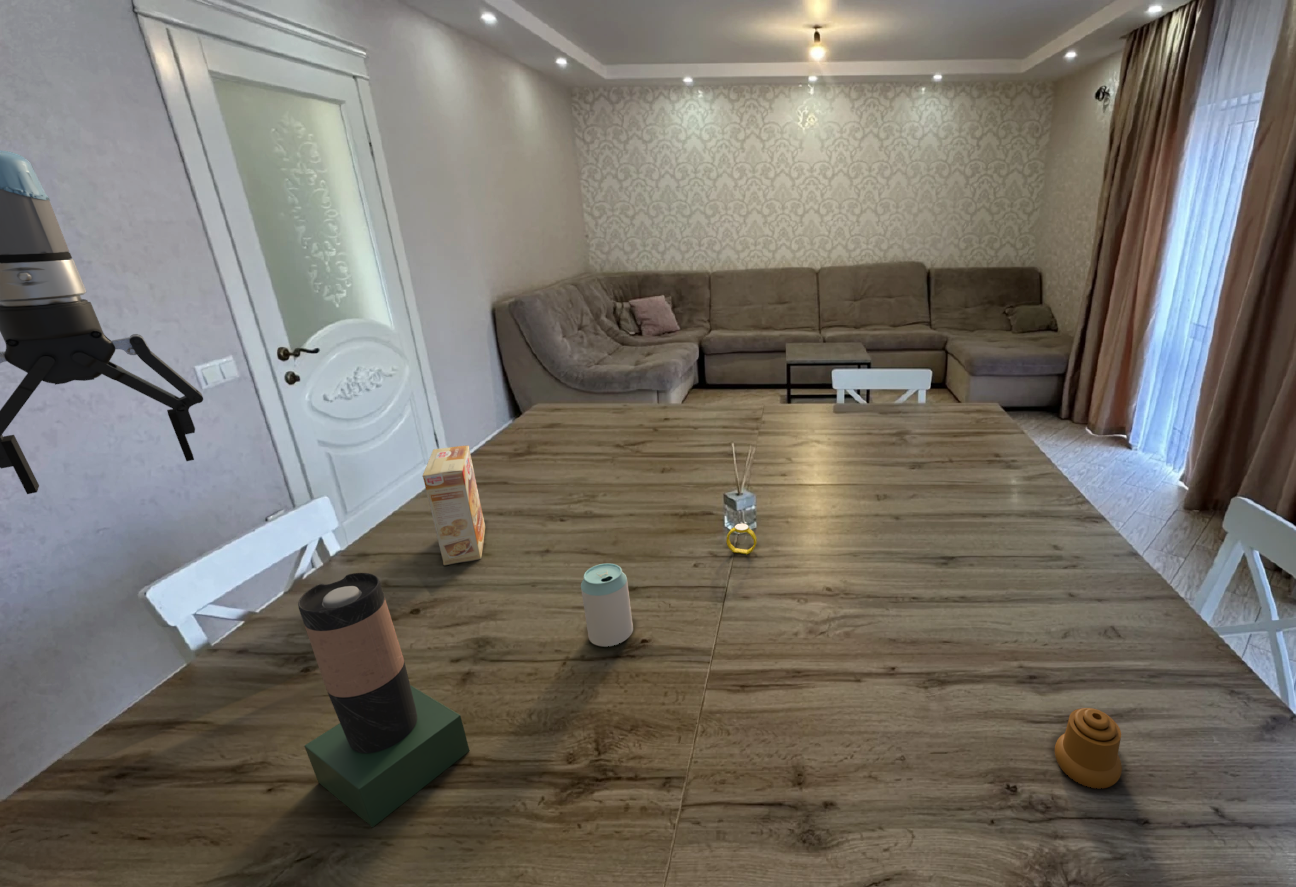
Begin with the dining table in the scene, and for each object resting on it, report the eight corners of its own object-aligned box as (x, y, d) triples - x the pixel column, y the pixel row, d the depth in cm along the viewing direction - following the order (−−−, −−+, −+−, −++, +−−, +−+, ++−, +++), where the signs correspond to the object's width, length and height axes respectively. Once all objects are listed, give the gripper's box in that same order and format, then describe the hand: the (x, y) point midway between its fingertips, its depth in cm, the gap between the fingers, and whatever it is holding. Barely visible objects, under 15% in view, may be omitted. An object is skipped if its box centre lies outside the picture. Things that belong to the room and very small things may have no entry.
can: (641, 625, 102) (634, 564, 97) (619, 653, 95) (610, 588, 91) (604, 618, 103) (595, 558, 99) (580, 645, 97) (569, 581, 93)
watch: (725, 555, 122) (724, 529, 120) (729, 547, 125) (727, 522, 123) (755, 557, 122) (754, 530, 119) (757, 549, 124) (756, 524, 122)
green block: (372, 828, 69) (358, 789, 66) (318, 782, 74) (303, 745, 72) (470, 751, 78) (460, 715, 76) (415, 716, 84) (405, 681, 82)
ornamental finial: (1106, 805, 70) (1043, 766, 75) (1128, 766, 75) (1067, 732, 80) (1119, 753, 68) (1052, 716, 73) (1141, 716, 72) (1077, 684, 77)
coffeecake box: (482, 559, 122) (462, 470, 115) (442, 566, 119) (420, 475, 112) (486, 525, 135) (469, 443, 128) (451, 531, 132) (431, 448, 125)
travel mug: (395, 756, 70) (349, 612, 63) (330, 755, 71) (277, 612, 63) (433, 706, 77) (395, 571, 70) (374, 705, 78) (330, 571, 71)
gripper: (-164, 317, 58) (-51, 516, 65) (191, 292, 74) (248, 453, 82) (-141, 309, 63) (-39, 495, 70) (188, 288, 79) (241, 440, 87)
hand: (116, 473), depth 76 cm, fingers open, 13 cm apart
